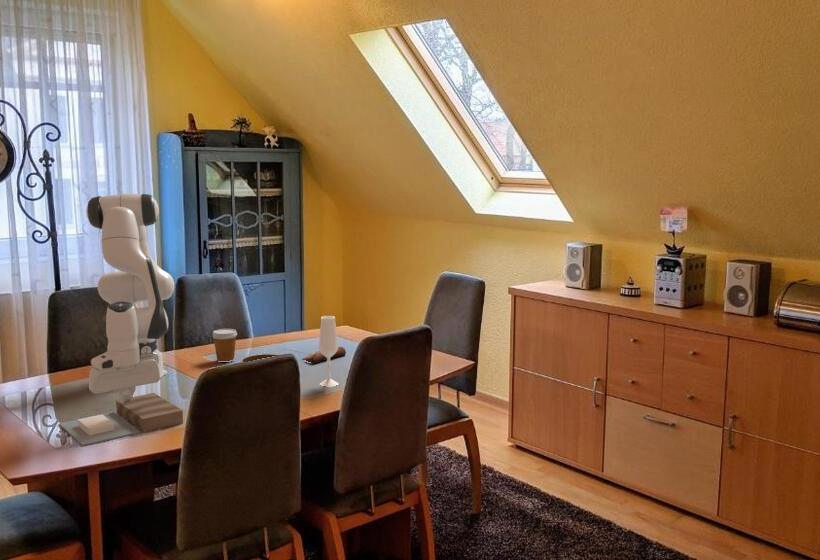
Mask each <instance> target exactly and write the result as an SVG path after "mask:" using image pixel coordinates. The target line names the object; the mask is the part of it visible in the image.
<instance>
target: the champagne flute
mask: <svg viewBox="0 0 820 560" xmlns="http://www.w3.org/2000/svg"><path fill="white" fill-rule="evenodd" d="M337 333H338V332H337V324H336V317H335V316H333V315H324V316H321V317H320V330H319V342H318V343H319V344H318V349H319V351H320V352H321V353H322V354H323V355H324V356H325V357H327V359H326V370H327V371H326V372H327V373H326V376H327V377H326V379H325V380H323V381H321V382H320V383H319V386H320V385H321V387H323V386H326V387H325V388H331V387H332V388H333V387H337V386H338V385H339V382H337V381H335V380H334V379H332V377H331V376H332V375H331V358H330V357H332V356H333V355H334V354H335V353H336V352H337V350H338V347H339V344H338V343H339V342H338V334H337ZM336 385H337V386H336Z"/></svg>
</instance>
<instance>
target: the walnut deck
mask: <svg viewBox="0 0 820 560" xmlns="http://www.w3.org/2000/svg"><path fill="white" fill-rule="evenodd" d="M115 403H116V404H115V406H116V407H115V408H116V414H117V415H118V416H120V417H121V418H123V417H124V418H123V419H124V420H125V421H127V420H128V421H127V422H128V423H130V422H131V423H130V424H131V425H132V426H133V427H135V428H136V429H138V428H139V429H138V430H139V431H140V432H141V431H142V432H143V433H145V432H146V431H147V432H150V430H151V431H155V430H159V429H158V428H160V429H164V428H167V427H166V426H168V427H171V425H173V426H176V425H175V424H177V425H180V424H179V423H181V424H184V416H183V413H184V412H183V409H181V408H179V407H178V406H176V405H174V404H173V403H171V402H170V401H168V400H166V399H164V398H163V397H161V396H160V395H159V394H157V393H155V392H151V393H145V394H141V395H137V396H136V395H135V396H132V401H131V402H126V403H121V399H116V400H115ZM163 427H164V428H163ZM154 429H155V430H154ZM147 432H146V433H147Z"/></svg>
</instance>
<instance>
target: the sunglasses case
mask: <svg viewBox="0 0 820 560" xmlns="http://www.w3.org/2000/svg"><path fill="white" fill-rule="evenodd" d="M345 354H347V352H346V348H344V346H338V350H337V352H336V353H335V354H334V355H333V356H332V357H330V359H332V358H335V357H340V356H346V355H345ZM302 359H304V360H306V361H308V362H311V363H313V364H312V365H315V364H317V362H318V363H321V362H322V361H325V360H327V357H325V356H324V355H323V354H322V353H321V352H320V350H319V351H315V352H313V354H308V356H305V357H304V358H302ZM320 361H321V362H320ZM314 363H315V364H314Z"/></svg>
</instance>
